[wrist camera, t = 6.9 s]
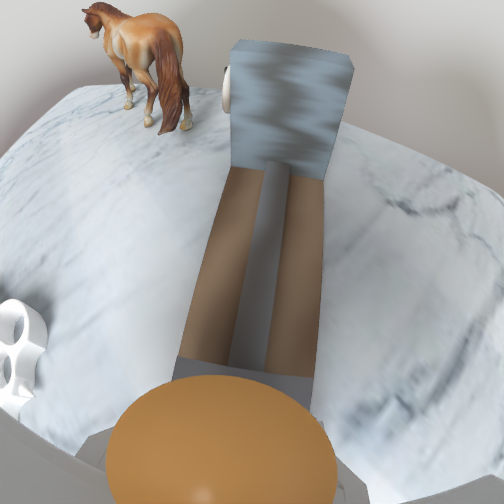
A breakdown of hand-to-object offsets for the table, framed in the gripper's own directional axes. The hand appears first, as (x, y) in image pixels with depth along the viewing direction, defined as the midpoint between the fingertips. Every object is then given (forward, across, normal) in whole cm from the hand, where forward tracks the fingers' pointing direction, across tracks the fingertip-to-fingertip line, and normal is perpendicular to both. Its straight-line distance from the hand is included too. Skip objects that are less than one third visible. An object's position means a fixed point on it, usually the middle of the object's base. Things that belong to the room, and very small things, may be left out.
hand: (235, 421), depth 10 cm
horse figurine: (+31, +23, -16) cm, 42 cm away
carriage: (+5, 0, +6) cm, 7 cm away
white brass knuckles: (+4, +25, +11) cm, 28 cm away
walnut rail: (+14, 0, +1) cm, 14 cm away
